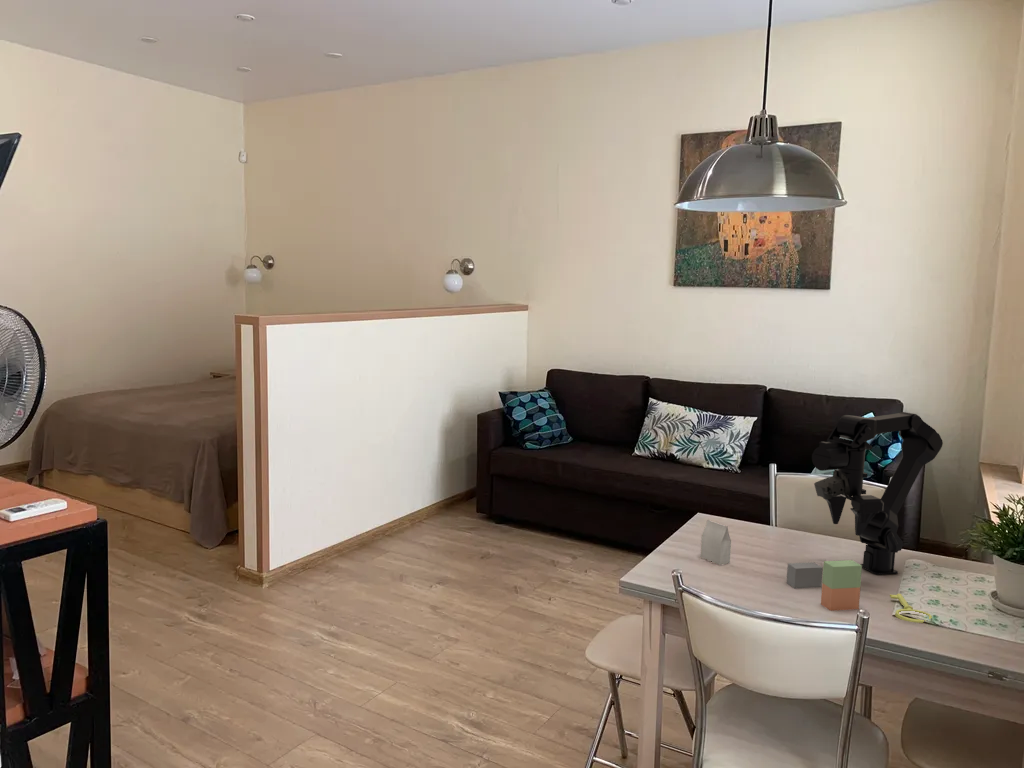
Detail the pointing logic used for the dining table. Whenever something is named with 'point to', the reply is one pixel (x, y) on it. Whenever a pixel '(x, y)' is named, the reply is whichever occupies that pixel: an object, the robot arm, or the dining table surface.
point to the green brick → (842, 574)
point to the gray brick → (804, 575)
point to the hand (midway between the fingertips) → (846, 529)
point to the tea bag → (716, 543)
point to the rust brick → (840, 598)
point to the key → (907, 609)
